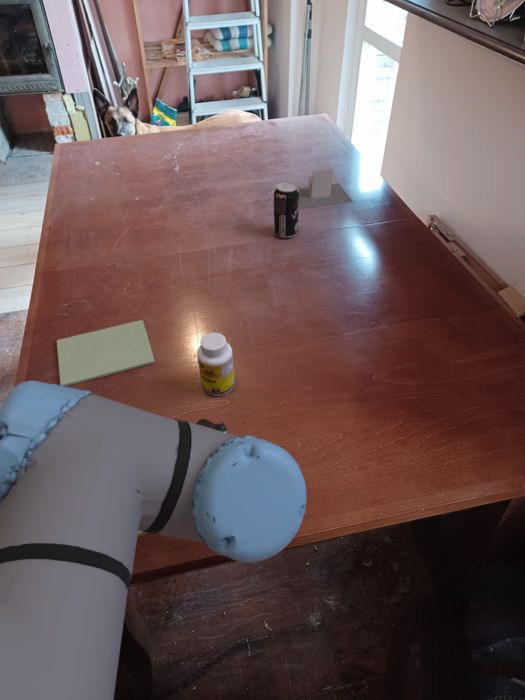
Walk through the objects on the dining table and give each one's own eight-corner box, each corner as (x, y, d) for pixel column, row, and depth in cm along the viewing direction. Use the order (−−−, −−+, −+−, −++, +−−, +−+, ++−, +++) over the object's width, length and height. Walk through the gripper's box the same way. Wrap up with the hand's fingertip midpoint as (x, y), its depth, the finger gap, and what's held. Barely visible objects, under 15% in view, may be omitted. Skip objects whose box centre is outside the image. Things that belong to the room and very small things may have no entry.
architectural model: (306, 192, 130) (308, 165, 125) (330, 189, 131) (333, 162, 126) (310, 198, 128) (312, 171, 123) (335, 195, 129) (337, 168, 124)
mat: (61, 387, 80) (60, 385, 80) (57, 342, 89) (56, 340, 88) (155, 363, 84) (154, 360, 84) (143, 321, 92) (142, 319, 92)
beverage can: (293, 226, 117) (294, 179, 109) (300, 237, 113) (303, 190, 105) (271, 229, 116) (270, 182, 108) (277, 241, 112) (278, 193, 104)
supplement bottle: (195, 385, 80) (187, 341, 73) (219, 368, 83) (214, 323, 76) (217, 403, 77) (211, 359, 70) (242, 384, 80) (238, 340, 73)
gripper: (102, 583, 39) (80, 524, 59) (297, 450, 47) (219, 439, 68) (58, 502, 38) (51, 471, 58) (264, 383, 47) (196, 392, 67)
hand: (142, 454), depth 63 cm, fingers closed on ring, 8 cm apart
